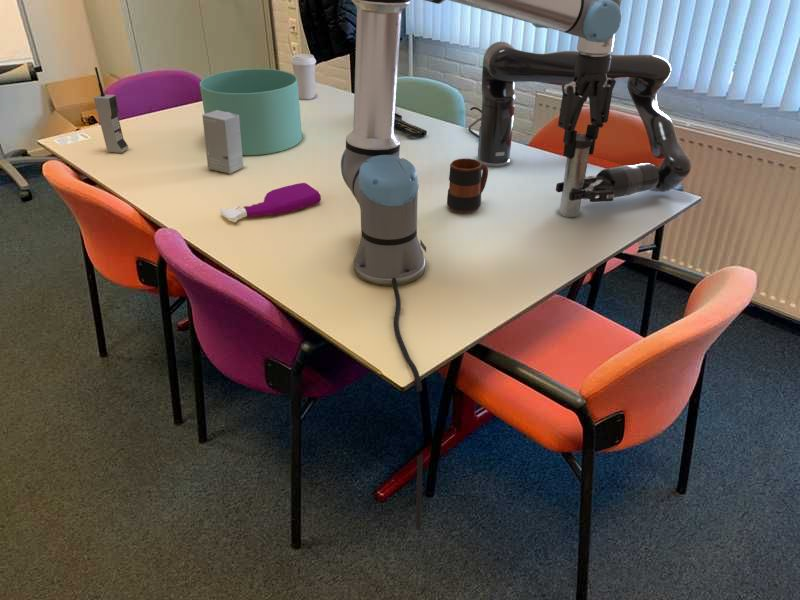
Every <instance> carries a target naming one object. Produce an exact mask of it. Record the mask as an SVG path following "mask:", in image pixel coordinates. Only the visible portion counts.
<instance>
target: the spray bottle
mask: <svg viewBox="0 0 800 600" xmlns="http://www.w3.org/2000/svg"><path fill="white" fill-rule="evenodd" d="M321 201H322V197H321V194H320V192H319V191H318V190H317V189H315V188H314V187H312V186H311V185H310V184H308V183H307V182H300V183H299V182H298V183H293V184H291V185H286V186H282V187H278V188H275V189H272V190H270V191H269V192H267V193H266V194H265V195H264V199H263V201H262V202H258V203H257V204H255V203H254V204H252V205H245V206H243V208H240V205H237V206H235V207H233V208H222V207H221V208H219V212H220V214H221V215H222V216H223V217H224V218H225V219H226V220H227V221H230V222H232V223H235V224H236V222H237V221H238V220H240V219H243V218H247V217H248V218H249V217H259V216H260V217H261V216H270V215H272V216H278V215H282V214H288V213H292V212H296V211H299V210H302V209H306V208H308V207H312V206H315V205H318V204H320V202H321Z"/></svg>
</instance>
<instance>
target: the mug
mask: <svg viewBox="0 0 800 600" xmlns="http://www.w3.org/2000/svg"><path fill="white" fill-rule="evenodd" d="M488 167H489V166H487V165H485V164H481V163H480V162H479V161H478V159H474V158H459V159H458V158H457V159H455V160H452V161H451V163H450V164H449V175H448V181H449V184H448V190H447V197H446V205H447V207H448V209H449V210H450V211H452V212H454V213H456V214H465V215H466V214H473V213H476V212H477V211H478V210H479V209H480V208H481V205H482V193H483V192H484V190H485V188H486V185H487V181H488V177H489V168H488Z"/></svg>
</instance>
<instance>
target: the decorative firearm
mask: <svg viewBox="0 0 800 600" xmlns="http://www.w3.org/2000/svg"><path fill="white" fill-rule="evenodd" d="M397 110H398V107H397V105H395V120H394V130H397V131H399V132H401V133H404V134H406V135H408V136H411V137H415V138H416V137H419V138H424V137H426V136H427V132H428V130H426V129H423V128H421V127H420V126H416V125H413V124H411V123H409V122H406V121H405V120H403V115H401V114H399V113H397Z"/></svg>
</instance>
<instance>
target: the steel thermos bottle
mask: <svg viewBox="0 0 800 600" xmlns="http://www.w3.org/2000/svg"><path fill="white" fill-rule="evenodd" d="M589 150H590V147H586V148H578V147H575V148H574V154H573V158H572V159H570V158H568V157H566V163H565V168H564V169H565V170H564V176H563V181H562V182H563V189H562V192H561V197H560V203H559V210H558V213H559V215H560V216H563V217H565V218H576V217H579V215H580V210H581V204H582V199H578V200H573V201H571V200H569V193H570V192H571V191H576V190H581V189H583V187H584V181H585V176H586V174H587V168H588V163H589V157H590V154H589Z"/></svg>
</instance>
